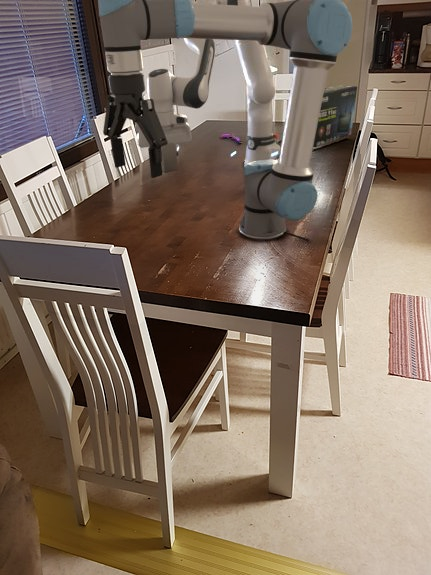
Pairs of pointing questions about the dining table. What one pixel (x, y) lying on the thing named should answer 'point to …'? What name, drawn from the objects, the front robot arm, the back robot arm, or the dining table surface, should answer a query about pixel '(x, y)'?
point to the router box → (335, 114)
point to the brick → (169, 158)
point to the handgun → (232, 138)
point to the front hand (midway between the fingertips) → (138, 171)
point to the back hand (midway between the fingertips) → (166, 156)
